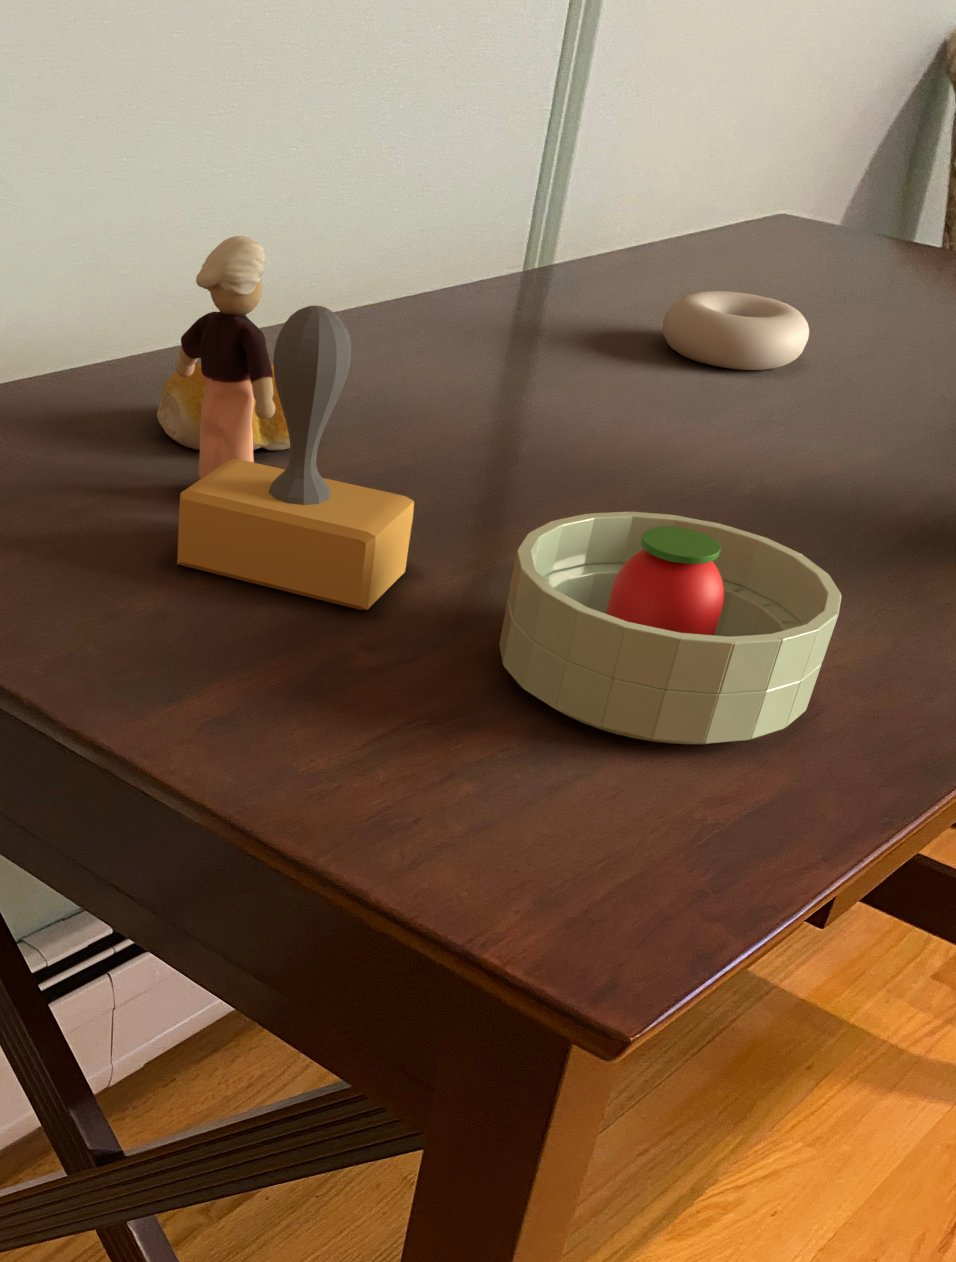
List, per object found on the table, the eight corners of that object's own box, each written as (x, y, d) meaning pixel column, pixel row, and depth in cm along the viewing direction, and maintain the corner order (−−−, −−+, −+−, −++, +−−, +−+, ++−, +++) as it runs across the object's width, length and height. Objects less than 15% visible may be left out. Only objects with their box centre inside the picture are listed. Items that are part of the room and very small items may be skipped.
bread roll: (334, 450, 86) (341, 379, 84) (190, 463, 84) (193, 389, 81) (276, 404, 92) (282, 336, 90) (140, 415, 89) (142, 345, 87)
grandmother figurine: (299, 507, 79) (324, 246, 71) (253, 525, 77) (272, 258, 69) (192, 467, 83) (204, 216, 75) (145, 484, 81) (151, 226, 73)
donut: (827, 365, 106) (711, 326, 112) (844, 313, 104) (725, 277, 110) (746, 387, 101) (628, 345, 107) (761, 333, 99) (641, 294, 104)
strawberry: (691, 648, 67) (726, 524, 63) (711, 696, 63) (748, 568, 60) (588, 640, 67) (617, 516, 63) (602, 688, 63) (633, 559, 60)
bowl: (766, 627, 70) (798, 524, 67) (838, 768, 60) (879, 654, 57) (487, 605, 71) (506, 501, 68) (511, 741, 61) (534, 627, 57)
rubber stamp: (407, 571, 73) (444, 311, 66) (364, 614, 69) (399, 342, 62) (225, 527, 76) (240, 274, 69) (174, 566, 72) (184, 302, 65)
